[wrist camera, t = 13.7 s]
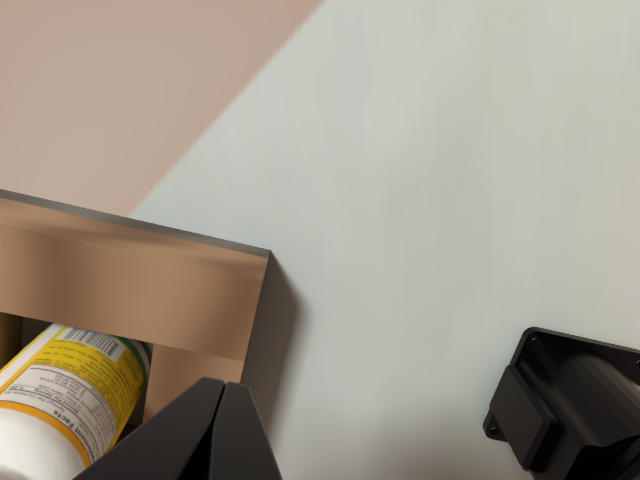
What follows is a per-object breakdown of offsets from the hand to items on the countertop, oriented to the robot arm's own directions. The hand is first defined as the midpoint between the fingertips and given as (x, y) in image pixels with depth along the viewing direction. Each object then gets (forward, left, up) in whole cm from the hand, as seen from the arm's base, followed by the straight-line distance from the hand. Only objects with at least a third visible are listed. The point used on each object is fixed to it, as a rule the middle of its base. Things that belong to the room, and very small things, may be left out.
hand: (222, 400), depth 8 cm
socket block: (+7, +9, -13) cm, 17 cm away
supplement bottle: (+7, +9, -12) cm, 17 cm away
